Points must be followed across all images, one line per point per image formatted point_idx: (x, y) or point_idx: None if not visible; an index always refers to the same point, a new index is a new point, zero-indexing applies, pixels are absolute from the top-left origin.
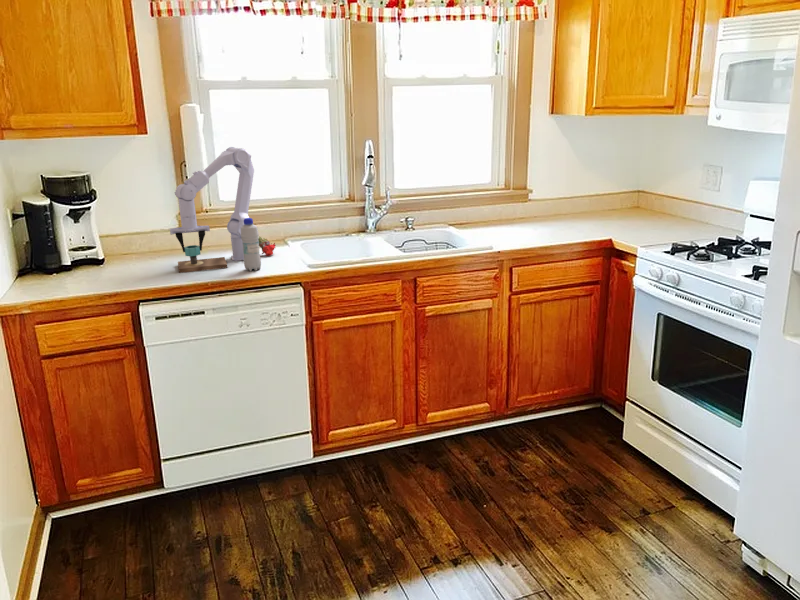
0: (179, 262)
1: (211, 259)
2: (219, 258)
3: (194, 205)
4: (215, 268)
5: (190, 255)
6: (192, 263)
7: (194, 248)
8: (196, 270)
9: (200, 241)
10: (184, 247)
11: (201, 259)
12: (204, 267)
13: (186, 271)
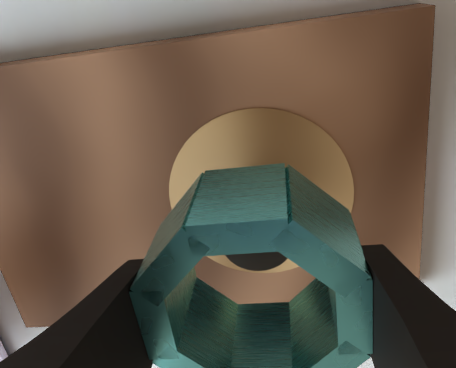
0: None
1: None
2: (54, 297)
3: None
4: (44, 57)
5: (280, 166)
6: None
7: (200, 223)
8: (228, 31)
9: (60, 346)
10: (372, 325)
11: None
12: (139, 44)
13: (335, 16)
